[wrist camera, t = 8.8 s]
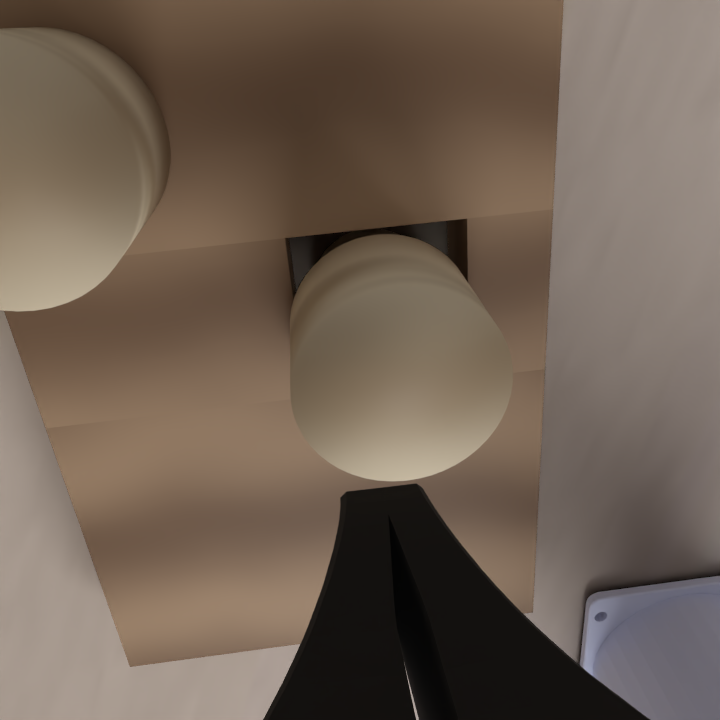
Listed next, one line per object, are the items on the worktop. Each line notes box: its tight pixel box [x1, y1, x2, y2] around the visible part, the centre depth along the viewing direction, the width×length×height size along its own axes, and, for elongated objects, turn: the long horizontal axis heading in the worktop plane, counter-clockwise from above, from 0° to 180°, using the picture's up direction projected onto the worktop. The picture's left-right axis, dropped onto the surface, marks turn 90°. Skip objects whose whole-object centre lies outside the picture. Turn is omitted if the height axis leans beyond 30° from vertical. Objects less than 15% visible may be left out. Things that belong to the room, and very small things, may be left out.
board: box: [0, 0, 563, 667], centre depth 18 cm, size 20×14×6 cm
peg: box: [290, 228, 513, 481], centre depth 17 cm, size 5×5×6 cm
